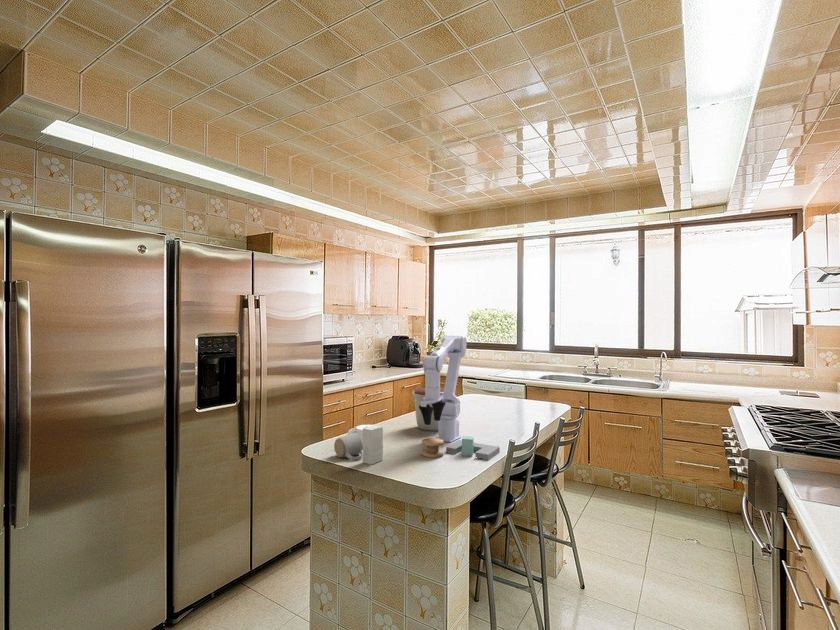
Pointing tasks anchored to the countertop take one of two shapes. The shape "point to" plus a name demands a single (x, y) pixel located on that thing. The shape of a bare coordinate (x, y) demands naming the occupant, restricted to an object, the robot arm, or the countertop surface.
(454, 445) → the gray u-shaped block
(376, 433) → the skincare box
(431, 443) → the bobbin
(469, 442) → the tab block
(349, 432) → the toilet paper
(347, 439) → the ceramic mug
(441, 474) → the countertop surface
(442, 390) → the canister
